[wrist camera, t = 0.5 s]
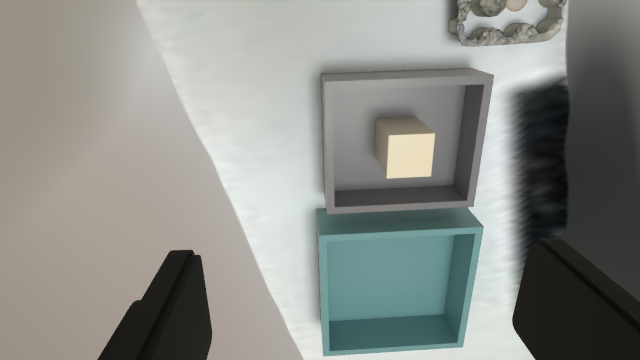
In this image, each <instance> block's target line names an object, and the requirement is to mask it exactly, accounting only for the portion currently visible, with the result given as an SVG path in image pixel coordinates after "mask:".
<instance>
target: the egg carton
mask: <svg viewBox="0 0 640 360" xmlns="http://www.w3.org/2000/svg"><path fill="white" fill-rule="evenodd" d="M526 2H527V0H472V3H471V2H469V1H468V0H458V6H459V11H458V15H457V16H456V17H455V18H454V19H452V20H450V21H449V26H448V30H449V32H453V33H455V34H457V36H458V38H459V42H461V45H462V46H489V45H507V44H520V43H534V42H543V41H547V40H549V39H551V38H552V37H553V36H555V35H556V34H557V33H558V32H559V31H560V28H561V24H562V21H563V17H562V15H563V8H564V6H565V4H566V0H539V3H540V5H542V6H543V7H546V8H548V12H547V17H546V19H544V20H542V21H541V22H539V23H538V25H537V26H536V28H535V27H534V26H533V25H531V24H527V23H513V24H511V25H509V26H508V27H506V29H505V30H504V32H503V34H502V33H501V32H502V31H501V30H499V29H495V28H478V29H476V30H475V31H474V32H473V33H472V35H471V37H470V39H467V38H466V37H465V35H463V32H464V25H463V24H462V22H463V21H465V20H466V17H467V14H468V13H469V11H470V10H471V9H472V11H473V13H474V14H475V15H476V16H481V17H492V16H497V15H498V14H499V13H500V12H501V11H503V10H504V8H505V6H506V7H507V9H509V10H510V11H519V10H520V9H522V8H523V7H524V6H525V4H526Z"/></svg>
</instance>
